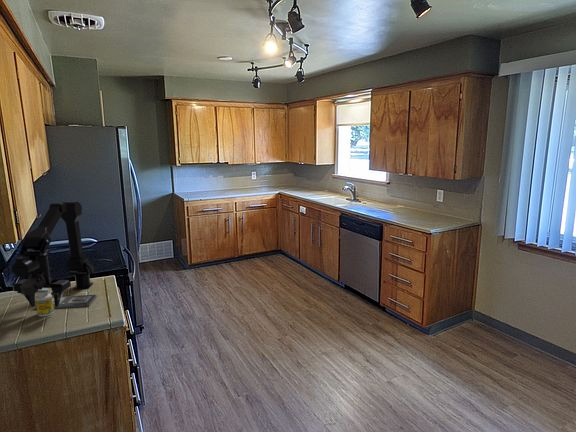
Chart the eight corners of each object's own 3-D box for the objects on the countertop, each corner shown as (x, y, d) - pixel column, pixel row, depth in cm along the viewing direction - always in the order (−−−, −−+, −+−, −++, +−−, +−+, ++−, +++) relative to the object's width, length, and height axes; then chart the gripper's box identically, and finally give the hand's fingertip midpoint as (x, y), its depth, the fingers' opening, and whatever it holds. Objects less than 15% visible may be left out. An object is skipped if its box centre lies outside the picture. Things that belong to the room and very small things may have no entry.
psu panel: (45, 300, 158) (45, 296, 157) (96, 297, 160) (96, 294, 160) (34, 309, 149) (34, 306, 149) (88, 306, 152) (88, 303, 151)
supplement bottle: (53, 309, 149) (50, 286, 147) (54, 314, 145) (51, 291, 143) (37, 312, 146) (34, 289, 144) (37, 318, 142) (34, 294, 140)
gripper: (-2, 274, 134) (5, 315, 137) (50, 275, 134) (55, 316, 137) (21, 264, 145) (26, 302, 148) (69, 265, 144) (73, 303, 148)
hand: (45, 306), depth 145 cm, fingers open, 9 cm apart
